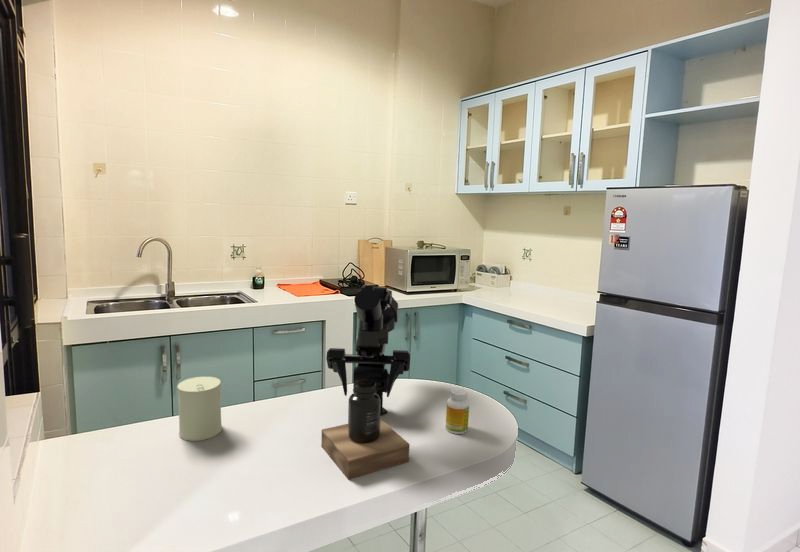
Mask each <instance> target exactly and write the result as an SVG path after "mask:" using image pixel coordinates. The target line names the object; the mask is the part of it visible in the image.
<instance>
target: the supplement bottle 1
mask: <svg viewBox="0 0 800 552" xmlns="http://www.w3.org/2000/svg"><path fill="white" fill-rule="evenodd" d="M352 387H353V388H352V394H350V395H349V398H348V402H347V403H348V410H347V415H348V416H347V417H348V418H347V424H348V436H349V438H350V439H351V440H352V441H354V442H357V443H370V442H373V441H375V440H377V439H378V437H379V435H380V419H381V415H380V397H379V396H378V394H376V382H374V381H372V380H367V379H363V380H358V381H355V382H354V381H353V386H352Z"/></svg>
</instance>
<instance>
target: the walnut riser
mask: <svg viewBox="0 0 800 552" xmlns="http://www.w3.org/2000/svg"><path fill="white" fill-rule="evenodd" d="M410 446H411V445H410V443H409V442H408V441H407V440H406V439H404V438H403V437H402V436H401V435H400V434H399V433H398V432H396V431H395V430H394V429H392V427H391V426H389V425H388V424H387V423H386V422H385V421H383V420H382V418H380V435H379V437H378V439H377V440H375V441H373V442H370V443H357V442H354V441H352V440H351V439H350V438H349V436H348V423H345V424H341V425H335V426H332V427H328V428H323V429H321V448H322V449H323V450H324V451H325V453H326V454H327V456H329V458H330V459H331V460H332V462H333V463H334V464H335V465H336V466H337V467H338V469H339V471H341V473H342V474H343V475H344V476H345V477H346V479H347V480H350V479H353V478H358V477H361V476H364V475H368V474H371V473H375V472H377V471H378V472H379V471H382V470H385V469H389V468H393V467H396V466H398V465H402V464H405V463H408V462H410Z"/></svg>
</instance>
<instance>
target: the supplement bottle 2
mask: <svg viewBox="0 0 800 552" xmlns="http://www.w3.org/2000/svg"><path fill="white" fill-rule="evenodd" d="M467 398H468V392H467V390H465V389H464V388H457V387H456V388H452V389H450V392H449V398H448V399H447V400H446V410H445V412H446V413H445V430H446V431H447V432H449V433H451V434H456V435H462V434H463V435H464V434H465V433H466V432H468V428H469V416H470V415H469V413H470V402H469V400H468V399H467Z"/></svg>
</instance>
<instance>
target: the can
mask: <svg viewBox="0 0 800 552" xmlns="http://www.w3.org/2000/svg"><path fill="white" fill-rule="evenodd" d="M221 384H222V381H221V380H220V379H219V378H218V377H215V376H194V377H189V378H187V379H184V380H182V381H181V382H179V383H178V384H177V386H176V388H177V398H178V400H177V401H178V402H177V403H178V420H179V421H178V422H179V423H178V424H179V429H178V430H179V431H178V436H179V437H180V439H182V440H186V441H188V442H189V441H193V442H197V441H204V440H209V439H211V438H214V437H216V436H217V435H220V433H221V431H222V429H223V426H222V400H221V397H222V394H221V393H222V392H221V391H222V390H221Z"/></svg>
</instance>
